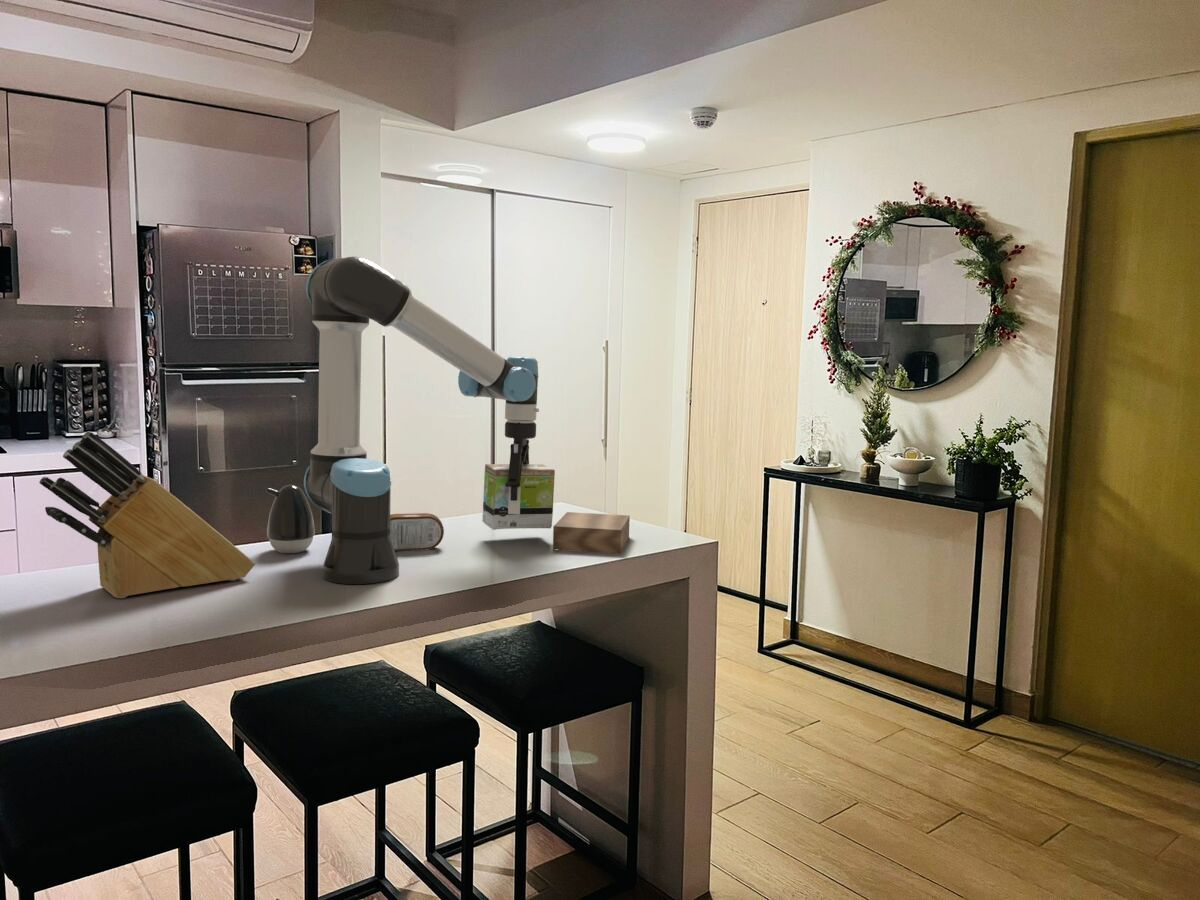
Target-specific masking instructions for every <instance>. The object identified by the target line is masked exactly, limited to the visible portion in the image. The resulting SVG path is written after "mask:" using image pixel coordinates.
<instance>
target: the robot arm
mask: <svg viewBox="0 0 1200 900" xmlns="http://www.w3.org/2000/svg"><path fill="white" fill-rule="evenodd" d="M305 285H306V287H305V290H306V291H305V292H306V296H307V299H308V301H309V303H310V305H311V307H312V309H311V311H312V316H311V317H312V320H311V322H312V324H313V325H314V326H315V327H316V328H317V329H318V331H319V346H318V347H319V350H318V351H319V353H318V354H319V355H318V357H319V359H318V361H319V362H318V363H319V364H318V419H317V420H318V423H317V424H318V426H317V427H318V429H317V430H318V433H317V434H318V435H317V436H318V437H317V444H316V445H315V446H314V447H313V448H312V449H311V450H310V461H309V462H310V464H309V466H308V467H307V468H306V471H305V474H304V478H303V486H304V487H303V488H304V491H305V494H306V495H307V496H306V497H307V499H309V500H310V501H311V503H312V504H313V505H314V506H315V507H317V508H318V509H319V510H322V511H323V512H325V513H329V514H331V541H330V543H329V547H328V550H327V553H326V555H325V559H324V562H323V566H322V576H323V577H322V578H324V579H325V581H329V582H332V583H336V584H337V583H338V584H343V585H344V584H345V585H365V584H376V583H383V582H387V581H390V580H393V579H395V578H396V577H398V576H399V575H400V563H399V559H398V557H397V554H396V551H395V550H394V547H393V544H392V541H391V538H390V515H391V490H392V489H391V486H392V480H391V471H390V468H389V467H388V465H386V464H385V463H384V462H382V461H379V460H375V459H370V458H367V454H368V453H367V450H365V448H363V446H362V445H361V444H360V441H361V440H360V439H361V437H360V436H361V432H360V429H361V428H360V427H361V425H360V424H361V386H362V385H361V382H362V380H361V378H362V375H361V374H362V335H363V334H362V333H363V331H365V329H367V328H368V327H369V325H370V320H372V321H374V322H375V323H378V324H379V325H380V326H382V327H383V328H386V327H393V328H395V329H396V330H397V331H399V332H400V333H402V334H404V335H406V336H407V337H408V338H410V339H411V340H412V341H414V342H416V343H417V344H419V345H421V346H422V347H424V348H425V349H426V350H428V351H430V352H431V353H432V354H435V355H436V356H438V357H439V358H441V359H442V360H444V361H446V362H447V363H448V364H449V365H452V366H453V367H454V368H456V369H457V370H459V373H458V376H457V377H458V378H457V379H458V380H457V384H458V388H459V391H460V393H461V394H462V395H463V396H465V397H473V398H478V397H481V398H482V397H483V398H490V399H496V400H497V399H498V400H505V405H504V419H505V420H506V422H505V424H504V436H505V438H509V439H513V443H511V444H510V447H509V448H510V455H509V475H508V481H507V483H506V487H509V498H508V514H520V493H521V487H520V479H521V470H522V464H530V454H529V453H530V452H529V451H530V440H529V439H535V438H536V436H537V423H536V422H535V421H536V420H537V413H539V412H540V409H539V408H538V407H537V405H538V404H537V403H538V401H537V400H538V386H539V384H538V383H539V382H538V381H539V367H538V366H539V365H538V363H539V362H538V360H537V358H536V357H530V356H527V357H526V356H509V357H507V358H506V359H505V357H503V356H501V355H500V354H498V353H497V352H496V351H494V350H493V349H492V348H490V347H488V346H486V345H485V344H484V343H482V342H481V341H479V340H478V339H476V337H474V336H472V335H470V334H469V333H467V332H466V331H464V329H461V328H460V327H459V326H457V325H456V324H454V323H453V322H452V321H450V320H449V319H447V318H446V317H445V316H443V315H441V314H440V313H439V312H437V311H436V310H434V309H433V308H431V307H430V306H429V305H427V304H425V303H424V302H422V301H421V300H420V299H419V298H417V297H415V296H414V295H413V294H412V288H411V287H410V286H408V285H407V284H406V283H404V282H402V281H401V280H400V279H398V278H397V277H395V276H394V275H393V274H391V273H390V272H389V271H387V270H386V269H384V268H383V267H381V266H380V265H378V264H377V263H376V262H374V261H371V260H370V259H367V258H364V257H361V256H347V257H341V258H339V257H338V258H330V259H327V260H324V261H323V262H321V263H319V264H318V265H316V266H315V267H314V268H313V269H312V270H311V272H310V273H309V275H308V277H307V280H306V284H305Z"/></svg>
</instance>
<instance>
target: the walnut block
mask: <svg viewBox="0 0 1200 900" xmlns="http://www.w3.org/2000/svg"><path fill="white" fill-rule="evenodd" d="M630 517H631V516H630V515H628V514H627V515H626V514H607V513H592V512H591V513H590V512H570V511H567V512H565V514H564V515H563V516H562V517H561V518H560V519H559V520H558V521H557V522H556V523H555V524H554V525H553V527H552V528H553V531H552V550H553V549H558V550H557V551H566V550H570V552H583V551H585V553H599V554H601V553H603V554H604V553H605V554H619V555H620V554H622V552H623V550H624V548H625V546H626V544H627V542H628V540H629V538H630V522H631V521H630V519H631V518H630Z"/></svg>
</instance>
